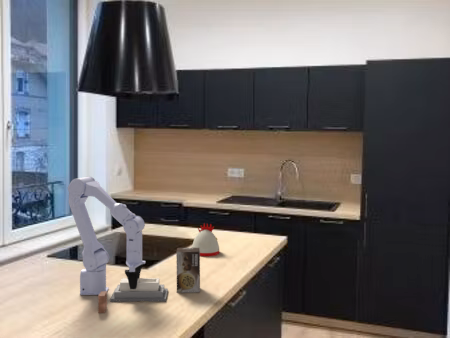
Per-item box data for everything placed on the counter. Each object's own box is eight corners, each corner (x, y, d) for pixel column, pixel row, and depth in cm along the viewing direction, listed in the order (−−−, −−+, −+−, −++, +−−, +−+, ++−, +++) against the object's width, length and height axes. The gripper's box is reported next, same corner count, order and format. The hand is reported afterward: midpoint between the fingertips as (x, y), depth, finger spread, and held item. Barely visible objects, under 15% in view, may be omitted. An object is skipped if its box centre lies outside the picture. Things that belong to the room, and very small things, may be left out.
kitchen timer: (218, 256, 259) (219, 226, 258) (190, 256, 259) (190, 225, 258) (219, 249, 273) (220, 220, 271) (192, 249, 273) (193, 220, 272)
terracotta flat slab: (98, 313, 181) (98, 295, 181) (101, 308, 186) (101, 291, 186) (104, 313, 181) (104, 295, 181) (106, 308, 186) (106, 291, 186)
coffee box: (199, 287, 210) (200, 247, 209) (200, 292, 204) (200, 251, 203) (176, 287, 210) (176, 247, 208) (176, 292, 203) (176, 251, 202)
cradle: (110, 301, 193) (110, 293, 192) (115, 291, 205) (115, 283, 204) (165, 301, 194) (165, 293, 193) (167, 290, 206) (167, 283, 205)
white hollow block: (158, 295, 197) (158, 282, 196) (120, 295, 196) (119, 282, 196) (159, 291, 202) (159, 278, 202) (122, 291, 202) (122, 278, 201)
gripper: (143, 254, 190) (143, 291, 192) (147, 245, 205) (147, 279, 206) (123, 254, 190) (123, 291, 191) (128, 245, 205) (128, 279, 206)
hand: (134, 285), depth 199 cm, fingers open, 7 cm apart
